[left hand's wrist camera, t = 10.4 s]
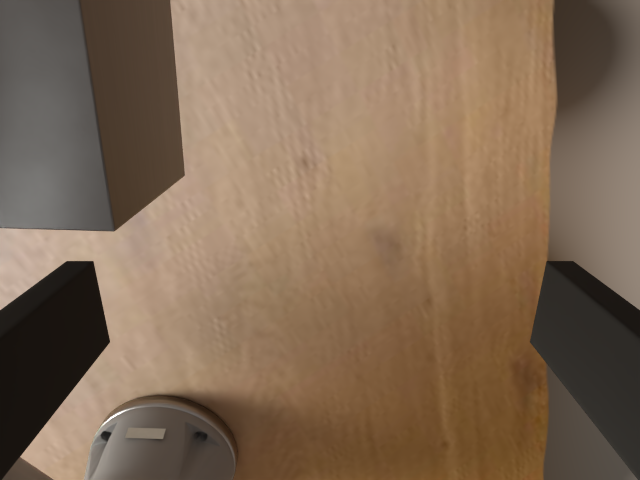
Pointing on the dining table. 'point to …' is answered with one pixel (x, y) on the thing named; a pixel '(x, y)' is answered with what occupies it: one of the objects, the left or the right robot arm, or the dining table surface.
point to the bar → (86, 112)
